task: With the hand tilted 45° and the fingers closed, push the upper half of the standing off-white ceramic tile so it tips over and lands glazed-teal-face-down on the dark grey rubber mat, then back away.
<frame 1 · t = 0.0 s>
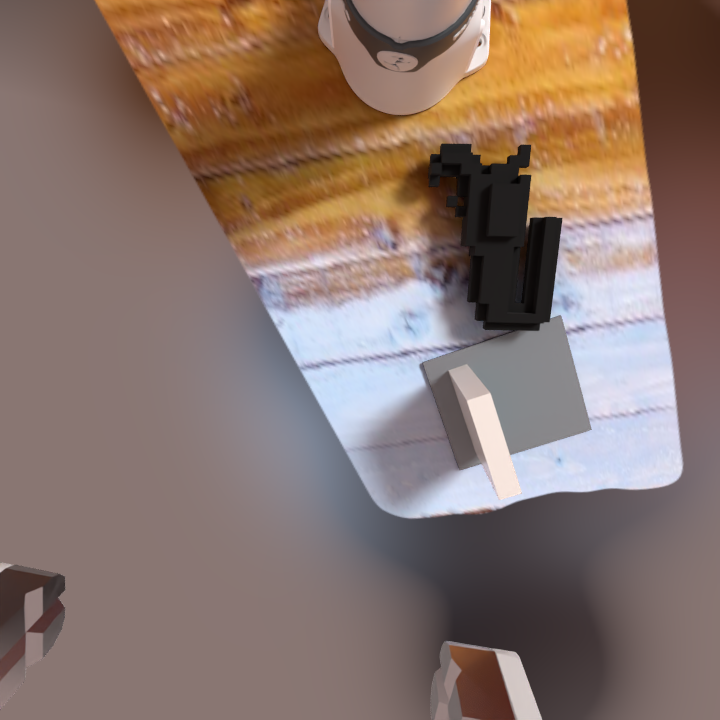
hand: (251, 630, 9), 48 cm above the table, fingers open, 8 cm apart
mat: (507, 395, 58), on the table
tile: (471, 408, 58), resting on mat
tool: (485, 242, 53), on the table, touching mat
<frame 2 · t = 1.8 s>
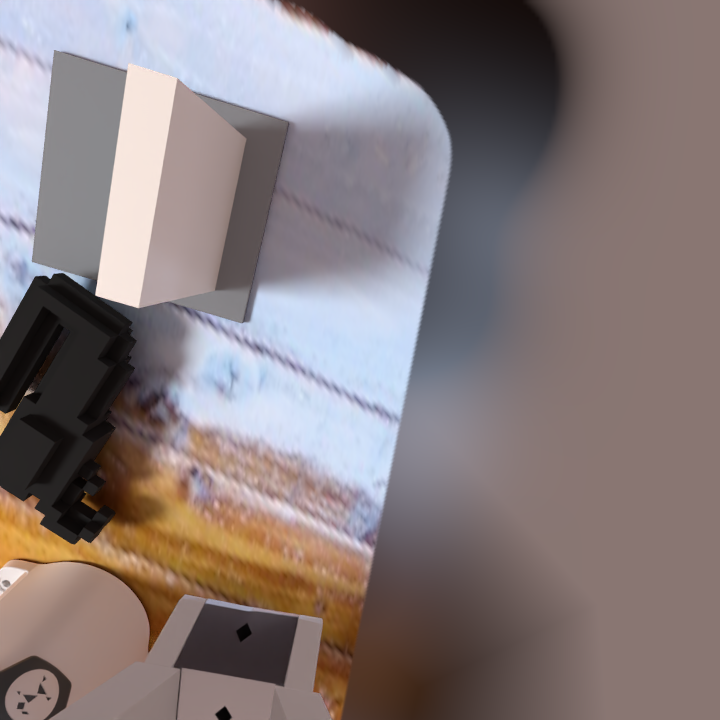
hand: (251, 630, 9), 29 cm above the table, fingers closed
mat: (156, 195, 35), on the table
tile: (214, 213, 35), resting on mat
tool: (90, 406, 40), on the table, touching mat
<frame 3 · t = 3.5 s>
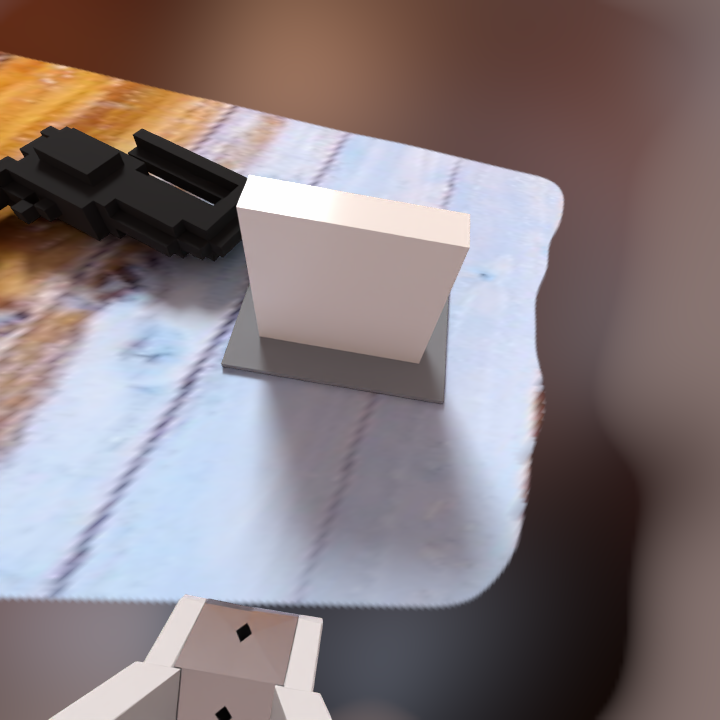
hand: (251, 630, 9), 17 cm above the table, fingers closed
mat: (351, 288, 36), on the table
tile: (342, 336, 33), resting on mat
tool: (129, 226, 38), on the table, touching mat
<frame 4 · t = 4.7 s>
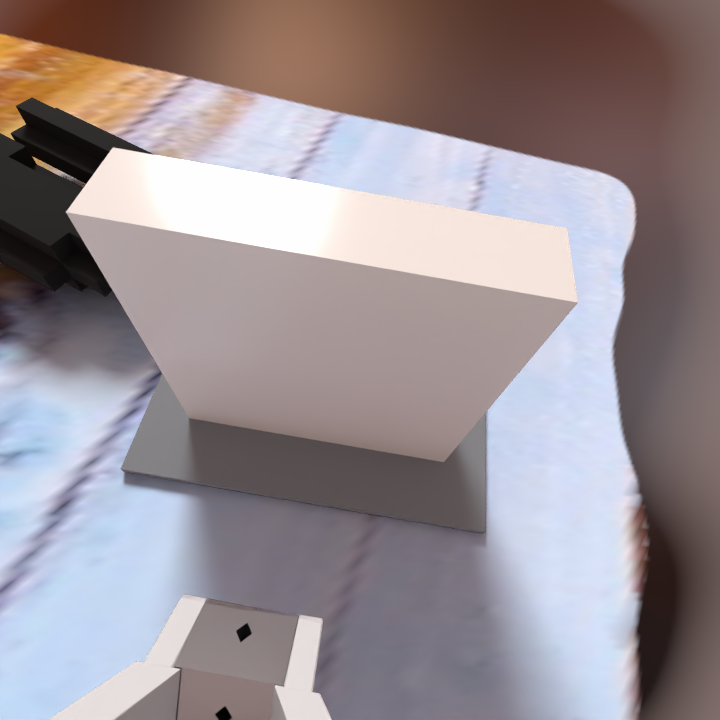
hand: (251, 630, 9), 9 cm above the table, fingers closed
mat: (338, 335, 24), on the table
tile: (321, 415, 21), resting on mat
tool: (14, 241, 25), on the table, touching mat
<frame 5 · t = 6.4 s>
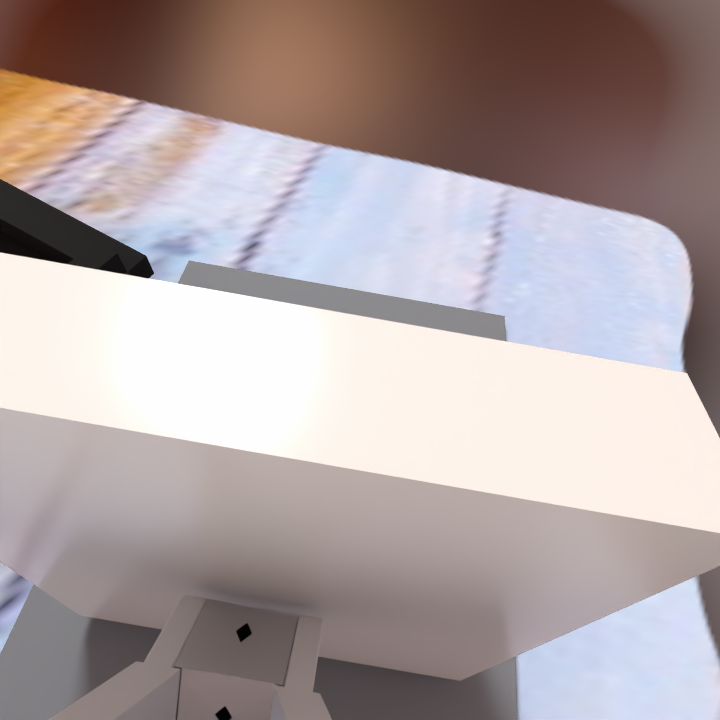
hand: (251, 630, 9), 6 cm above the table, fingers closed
mat: (310, 464, 18), on the table
tile: (280, 603, 15), point 1 cm above the table, tilted 11°, touching mat
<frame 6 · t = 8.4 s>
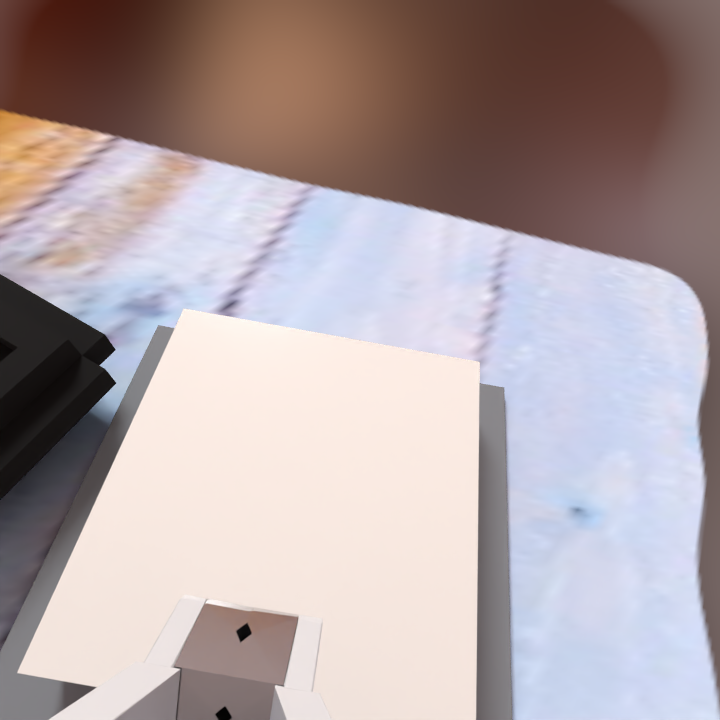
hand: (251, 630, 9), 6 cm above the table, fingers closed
mat: (284, 573, 16), on the table
tile: (252, 705, 12), point 2 cm above the table, tilted 90°, touching mat
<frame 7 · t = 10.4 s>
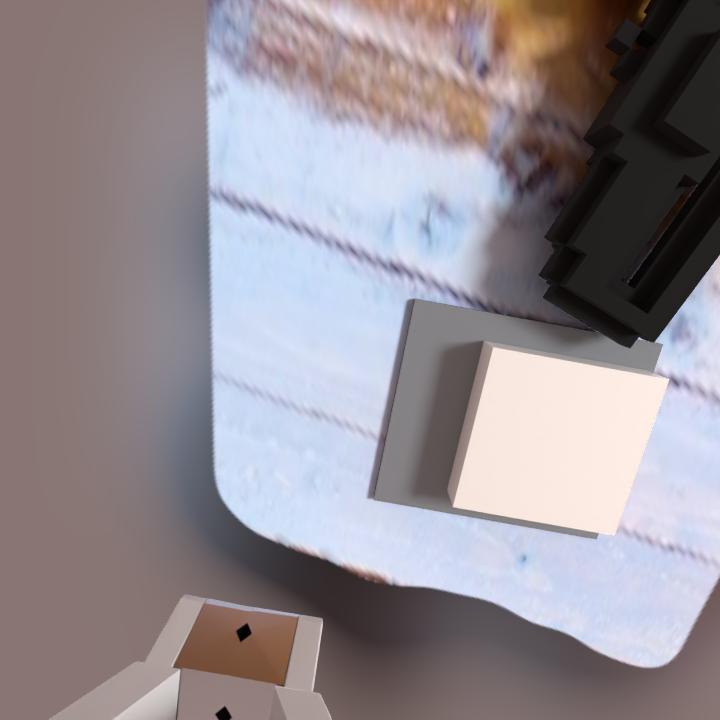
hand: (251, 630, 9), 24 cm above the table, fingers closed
mat: (509, 424, 33), on the table
tile: (468, 424, 32), point 2 cm above the table, tilted 90°, touching mat
tool: (618, 162, 29), on the table, touching mat
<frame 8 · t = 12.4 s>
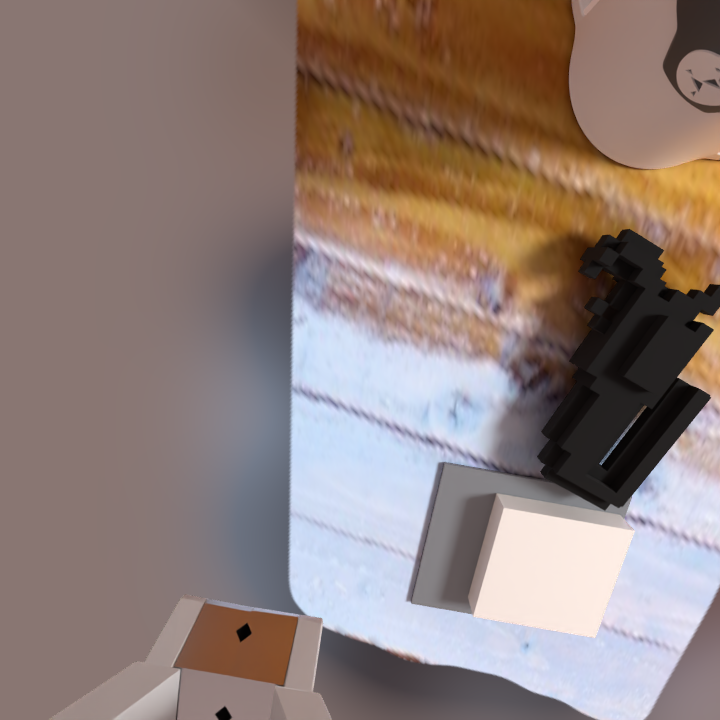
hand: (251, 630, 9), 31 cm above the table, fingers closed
mat: (515, 549, 44), on the table
tile: (484, 555, 42), point 2 cm above the table, tilted 90°, touching mat
tool: (596, 370, 40), on the table, touching mat
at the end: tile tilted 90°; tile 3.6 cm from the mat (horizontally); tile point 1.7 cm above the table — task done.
